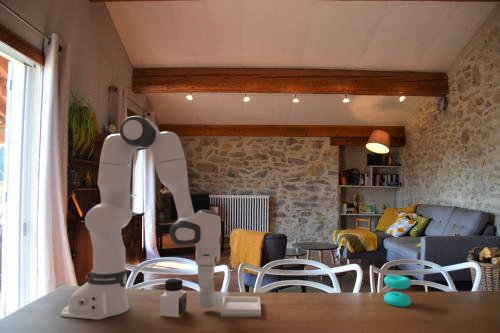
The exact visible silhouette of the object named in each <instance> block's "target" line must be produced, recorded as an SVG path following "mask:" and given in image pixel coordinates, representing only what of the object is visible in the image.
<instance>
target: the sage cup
mask: <svg viewBox="0 0 500 333" xmlns="http://www.w3.org/2000/svg"><path fill="white" fill-rule="evenodd" d="M208 291H209V293H208V297H203V288H200V287H199V294H198V296H199V299H198V305H199V307H200V308H204V309H205V308H211V307H212V308H213V307H214V303H215V302H214V301H215V278H212V281H211V284H210V287H209V290H208Z"/></svg>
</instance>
